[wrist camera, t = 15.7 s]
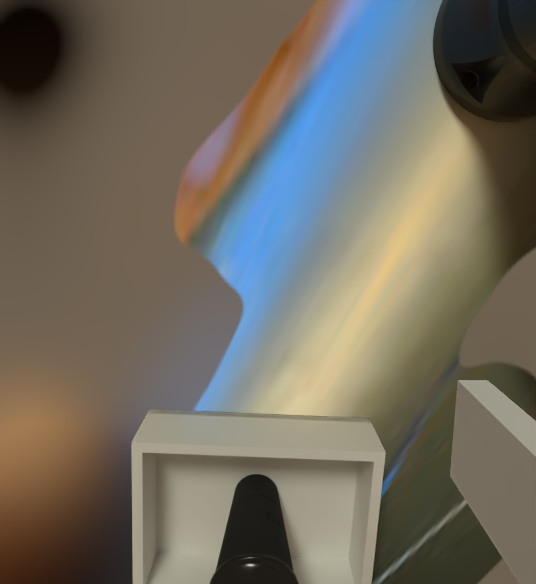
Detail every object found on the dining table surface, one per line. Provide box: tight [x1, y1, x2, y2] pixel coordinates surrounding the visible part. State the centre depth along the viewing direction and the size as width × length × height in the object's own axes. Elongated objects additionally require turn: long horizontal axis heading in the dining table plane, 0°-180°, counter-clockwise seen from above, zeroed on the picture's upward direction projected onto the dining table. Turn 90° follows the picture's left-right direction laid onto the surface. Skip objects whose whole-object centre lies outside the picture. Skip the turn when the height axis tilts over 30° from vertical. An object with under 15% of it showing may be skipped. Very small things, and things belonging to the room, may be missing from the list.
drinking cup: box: [209, 474, 299, 584], centre depth 41 cm, size 8×8×20 cm
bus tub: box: [132, 409, 386, 584], centre depth 48 cm, size 24×18×7 cm
